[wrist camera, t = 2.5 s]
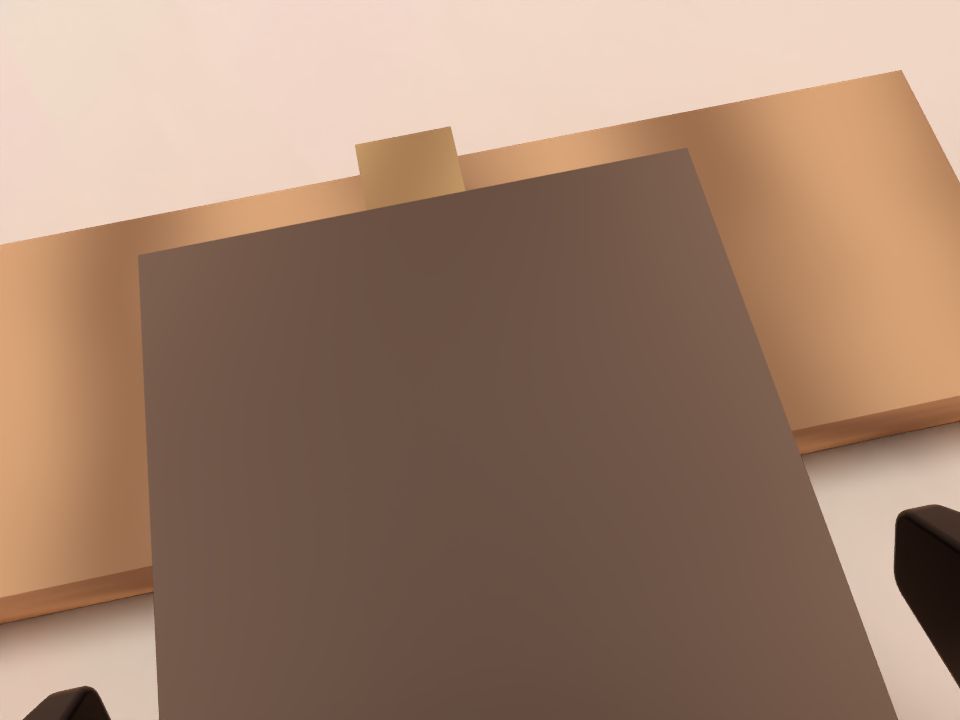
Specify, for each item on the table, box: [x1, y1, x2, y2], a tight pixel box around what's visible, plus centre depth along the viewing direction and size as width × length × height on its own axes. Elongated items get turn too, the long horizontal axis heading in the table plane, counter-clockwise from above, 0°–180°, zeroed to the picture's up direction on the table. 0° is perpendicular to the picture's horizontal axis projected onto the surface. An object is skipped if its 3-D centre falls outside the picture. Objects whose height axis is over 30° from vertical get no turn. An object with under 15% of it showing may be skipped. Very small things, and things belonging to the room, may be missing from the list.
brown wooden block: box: [138, 127, 898, 720], centre depth 12 cm, size 4×12×13 cm, turn 12°
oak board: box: [0, 70, 960, 624], centre depth 18 cm, size 36×8×3 cm, turn 102°
